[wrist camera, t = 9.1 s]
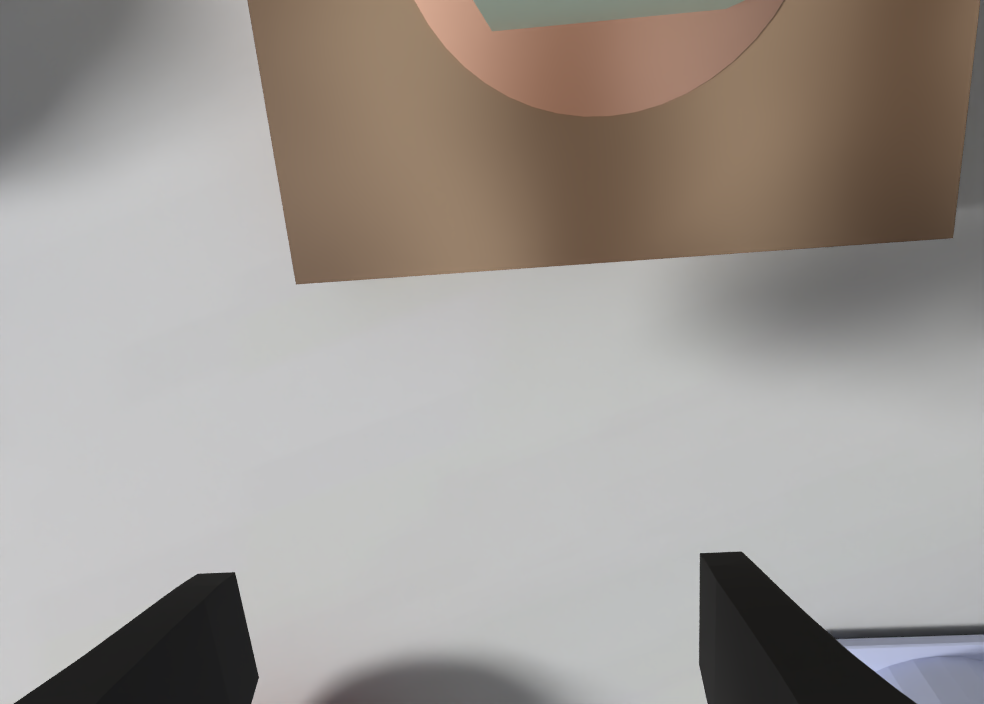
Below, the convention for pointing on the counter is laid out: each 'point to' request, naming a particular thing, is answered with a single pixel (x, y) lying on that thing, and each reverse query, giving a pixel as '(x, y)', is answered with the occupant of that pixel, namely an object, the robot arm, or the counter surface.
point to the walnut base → (609, 132)
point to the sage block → (583, 10)
